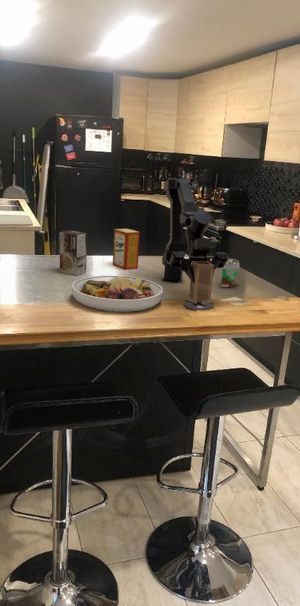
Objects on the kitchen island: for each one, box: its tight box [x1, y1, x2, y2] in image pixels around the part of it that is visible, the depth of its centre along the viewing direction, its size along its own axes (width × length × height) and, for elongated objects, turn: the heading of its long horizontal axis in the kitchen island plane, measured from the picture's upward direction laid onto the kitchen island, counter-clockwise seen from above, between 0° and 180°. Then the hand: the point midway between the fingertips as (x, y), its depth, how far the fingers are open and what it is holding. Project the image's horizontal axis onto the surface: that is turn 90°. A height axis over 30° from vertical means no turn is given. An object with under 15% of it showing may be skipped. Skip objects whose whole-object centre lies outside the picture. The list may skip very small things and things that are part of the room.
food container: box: [220, 257, 240, 289], centre depth 190 cm, size 12×6×10 cm, turn 168°
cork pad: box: [220, 296, 253, 307], centre depth 170 cm, size 8×8×1 cm
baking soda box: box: [112, 228, 141, 271], centre depth 210 cm, size 10×6×16 cm
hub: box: [183, 298, 215, 312], centre depth 162 cm, size 10×10×5 cm
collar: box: [188, 261, 215, 302], centre depth 161 cm, size 6×6×12 cm
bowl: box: [71, 275, 164, 313], centre depth 163 cm, size 30×30×8 cm
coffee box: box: [59, 230, 88, 276], centre depth 195 cm, size 9×6×16 cm
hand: (202, 282), depth 159 cm, fingers closed on collar, 6 cm apart
